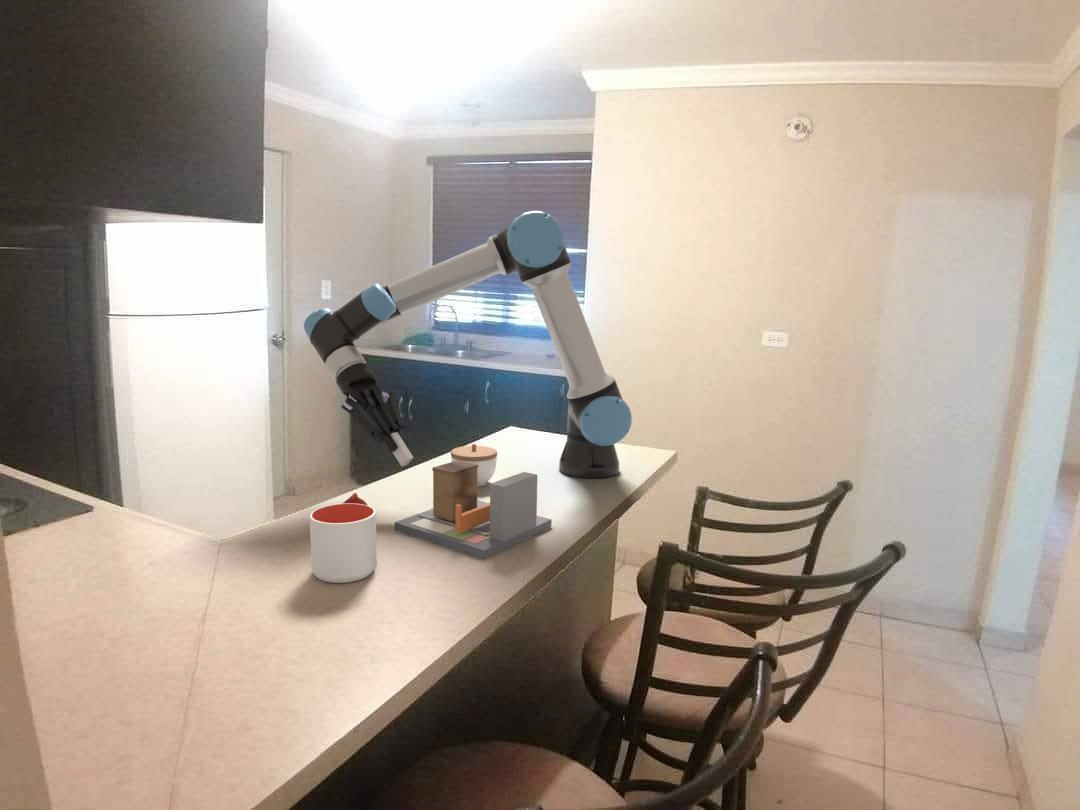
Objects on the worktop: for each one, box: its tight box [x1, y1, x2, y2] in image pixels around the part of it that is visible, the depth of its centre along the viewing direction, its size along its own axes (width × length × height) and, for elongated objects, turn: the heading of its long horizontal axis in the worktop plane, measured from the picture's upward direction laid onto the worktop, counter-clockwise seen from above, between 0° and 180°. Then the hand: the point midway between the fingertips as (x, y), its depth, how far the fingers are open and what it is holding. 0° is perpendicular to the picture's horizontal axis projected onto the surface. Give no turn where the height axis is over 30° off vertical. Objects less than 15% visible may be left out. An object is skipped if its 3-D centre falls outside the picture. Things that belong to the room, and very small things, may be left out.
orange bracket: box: [455, 502, 490, 533], centre depth 126 cm, size 11×1×5 cm, turn 145°
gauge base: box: [393, 471, 552, 560], centre depth 130 cm, size 20×22×12 cm
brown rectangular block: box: [432, 460, 478, 522], centre depth 133 cm, size 7×5×10 cm
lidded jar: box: [450, 443, 498, 488], centre depth 160 cm, size 11×11×9 cm
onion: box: [342, 492, 369, 506], centre depth 126 cm, size 6×6×8 cm
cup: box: [309, 503, 378, 584], centre depth 109 cm, size 10×10×10 cm
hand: (407, 461), depth 140 cm, fingers closed
